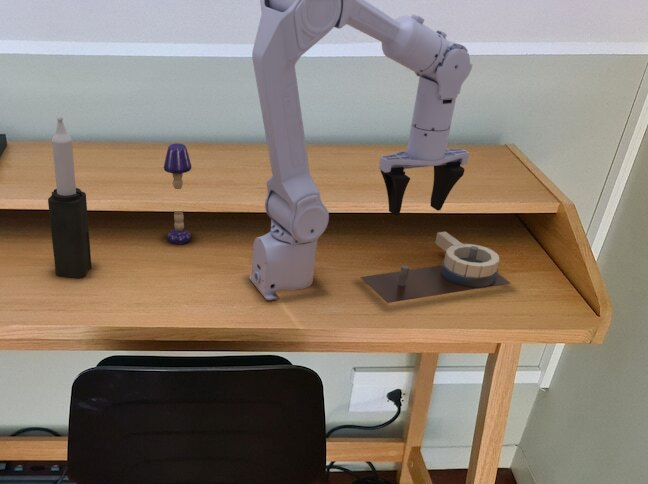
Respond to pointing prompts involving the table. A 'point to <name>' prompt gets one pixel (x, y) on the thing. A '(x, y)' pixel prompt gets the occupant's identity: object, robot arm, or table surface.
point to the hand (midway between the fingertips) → (414, 210)
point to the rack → (429, 281)
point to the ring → (460, 250)
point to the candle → (68, 212)
